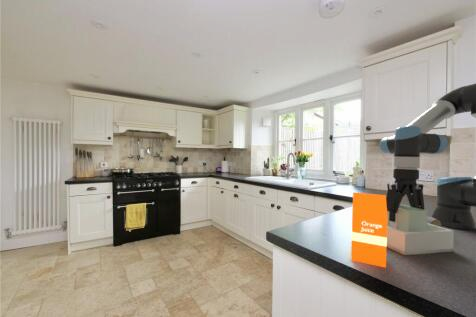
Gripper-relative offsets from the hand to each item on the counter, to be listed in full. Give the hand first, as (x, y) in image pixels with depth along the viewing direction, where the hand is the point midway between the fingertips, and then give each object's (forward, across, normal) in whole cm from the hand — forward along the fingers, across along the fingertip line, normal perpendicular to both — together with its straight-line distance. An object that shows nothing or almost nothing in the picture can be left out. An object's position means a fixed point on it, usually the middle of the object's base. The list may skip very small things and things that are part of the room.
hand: (403, 229), depth 80 cm
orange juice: (+5, +24, +9) cm, 26 cm away
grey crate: (+5, 0, 0) cm, 5 cm away
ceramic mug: (+5, -20, -7) cm, 22 cm away
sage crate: (+1, 0, 0) cm, 1 cm away
